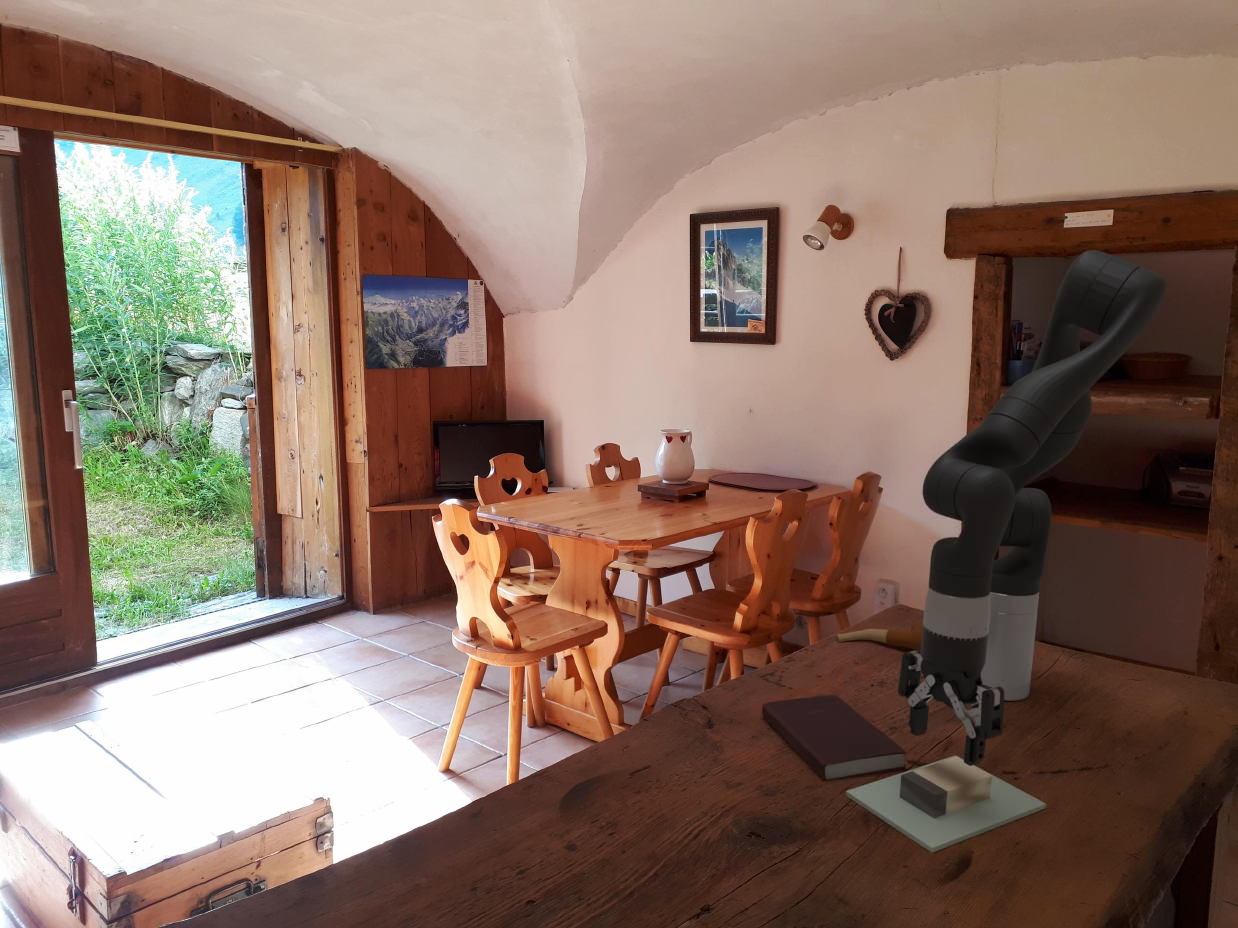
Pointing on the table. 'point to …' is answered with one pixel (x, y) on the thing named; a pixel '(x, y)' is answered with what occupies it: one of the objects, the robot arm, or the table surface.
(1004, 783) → the rubber mat
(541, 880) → the table surface
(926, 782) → the cream rectangular block
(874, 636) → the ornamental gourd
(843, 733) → the book
